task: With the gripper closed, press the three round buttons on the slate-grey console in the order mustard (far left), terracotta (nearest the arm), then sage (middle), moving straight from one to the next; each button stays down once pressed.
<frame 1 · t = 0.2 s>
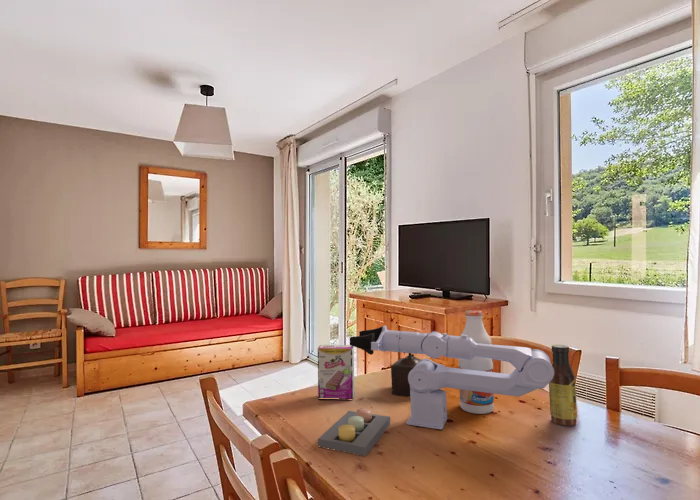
hand: (355, 337, 115), 21 cm above the table, tool horizontal, fingers open, 7 cm apart
terracotta button: (364, 415, 106), point 3 cm above the table, slide at 0.0 cm
mustard button: (346, 433, 95), point 3 cm above the table, slide at 0.0 cm
dark brown coffee grinder: (404, 390, 133), on the table
candy bar box: (336, 398, 127), on the table
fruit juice: (476, 409, 116), on the table
sauce bottle: (563, 422, 105), on the table
console: (356, 435, 101), on the table
sage button: (356, 423, 101), point 3 cm above the table, slide at 0.0 cm
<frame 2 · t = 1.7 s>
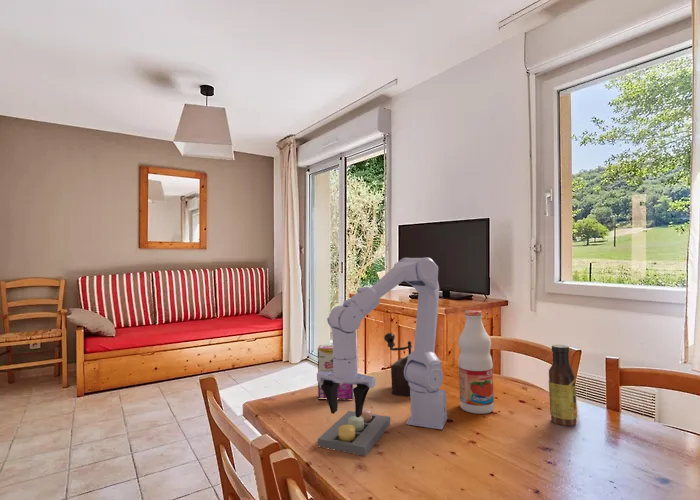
hand: (346, 413, 96), 7 cm above the table, tool pointing down, fingers open, 6 cm apart
nothing on the table moved.
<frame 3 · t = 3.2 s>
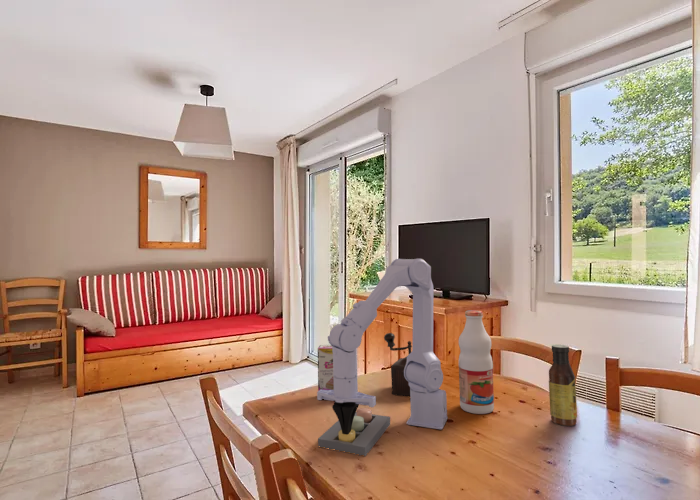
hand: (346, 432, 95), 3 cm above the table, tool pointing down, fingers closed, pressing on mustard button
mustard button: (347, 437, 95), point 2 cm above the table, slide at 1.0 cm, touching gripper
everything else where it was.
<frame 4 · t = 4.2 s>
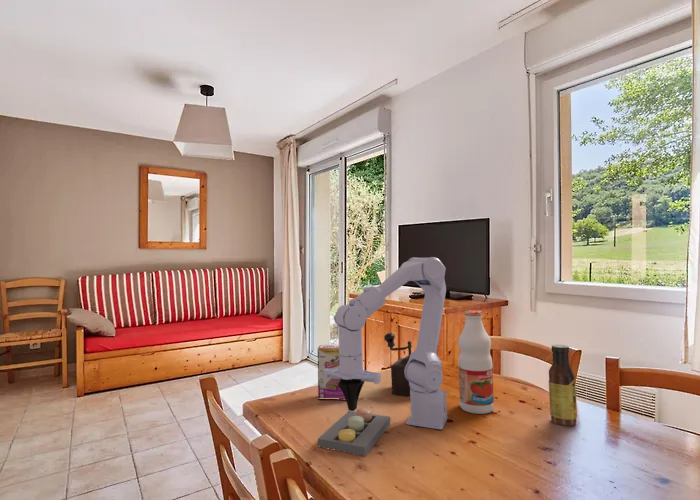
hand: (352, 409, 99), 7 cm above the table, tool pointing down, fingers closed
mustard button: (347, 437, 95), point 2 cm above the table, slide at 1.0 cm
everything else where it was.
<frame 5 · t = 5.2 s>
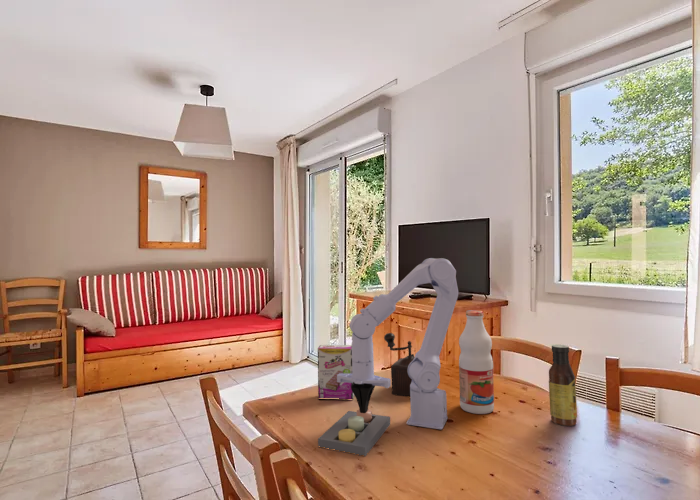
hand: (364, 411, 106), 4 cm above the table, tool pointing down, fingers closed, pressing on terracotta button
terracotta button: (364, 416, 106), point 3 cm above the table, slide at 0.2 cm, touching gripper
everything else where it was.
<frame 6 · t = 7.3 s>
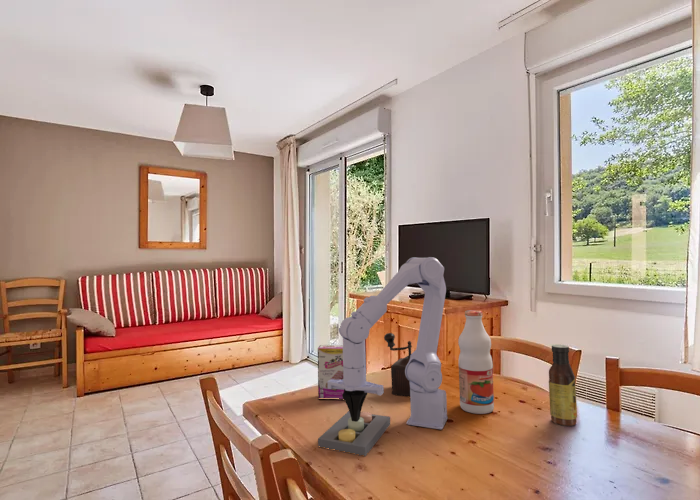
hand: (355, 420, 101), 4 cm above the table, tool pointing down, fingers closed, pressing on sage button
terracotta button: (364, 419, 106), point 2 cm above the table, slide at 1.0 cm
sage button: (356, 424, 101), point 3 cm above the table, slide at 0.2 cm, touching gripper
everything else where it was.
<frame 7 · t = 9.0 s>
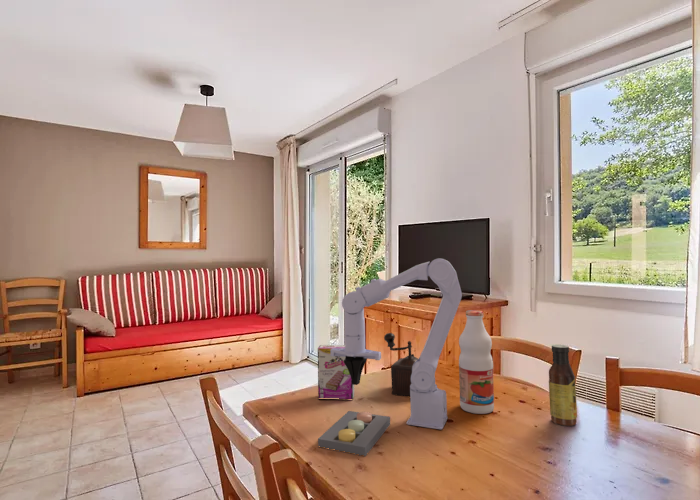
hand: (356, 383, 111), 9 cm above the table, tool pointing down, fingers closed
sage button: (356, 427, 101), point 2 cm above the table, slide at 1.0 cm
everything else where it was.
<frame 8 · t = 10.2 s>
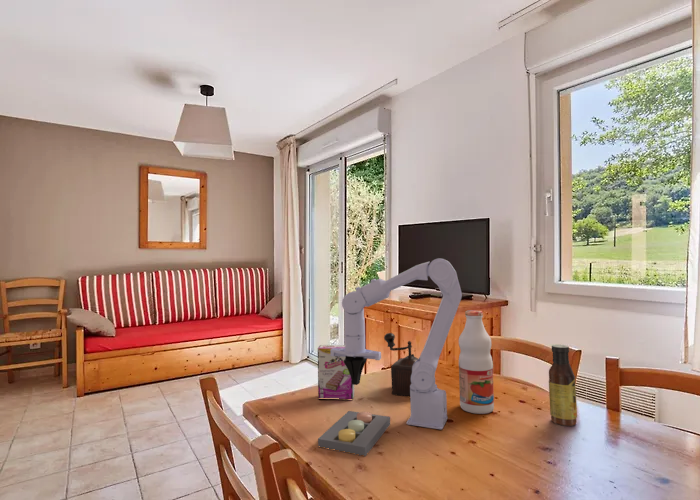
hand: (356, 383, 111), 9 cm above the table, tool pointing down, fingers closed
nothing on the table moved.
at the end: mustard button slide at 1.0 cm; terracotta button slide at 1.0 cm; sage button slide at 1.0 cm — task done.
